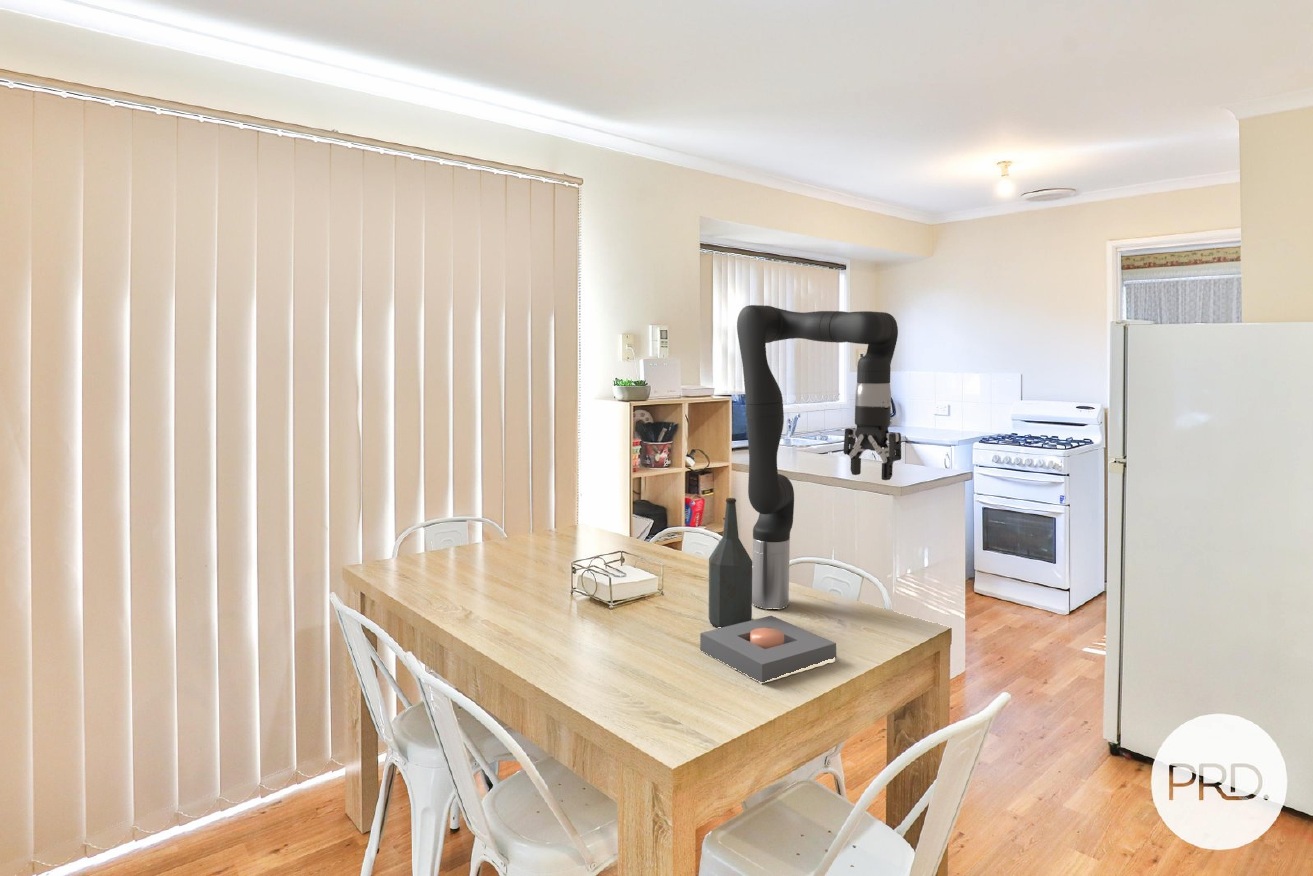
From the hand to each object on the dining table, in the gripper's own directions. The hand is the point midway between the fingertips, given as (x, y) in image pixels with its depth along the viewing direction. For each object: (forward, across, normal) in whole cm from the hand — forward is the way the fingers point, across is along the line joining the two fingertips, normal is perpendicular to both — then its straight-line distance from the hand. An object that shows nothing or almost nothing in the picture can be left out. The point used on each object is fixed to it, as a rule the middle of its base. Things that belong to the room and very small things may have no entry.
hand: (870, 477), depth 167 cm
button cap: (+35, -3, -27) cm, 44 cm away
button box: (+36, -3, -27) cm, 45 cm away
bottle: (+36, -23, -21) cm, 48 cm away
